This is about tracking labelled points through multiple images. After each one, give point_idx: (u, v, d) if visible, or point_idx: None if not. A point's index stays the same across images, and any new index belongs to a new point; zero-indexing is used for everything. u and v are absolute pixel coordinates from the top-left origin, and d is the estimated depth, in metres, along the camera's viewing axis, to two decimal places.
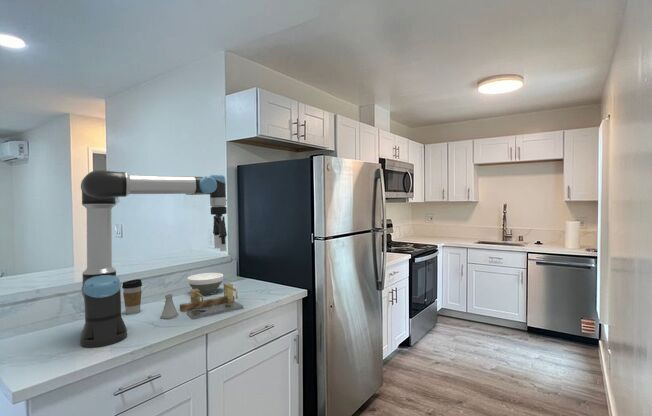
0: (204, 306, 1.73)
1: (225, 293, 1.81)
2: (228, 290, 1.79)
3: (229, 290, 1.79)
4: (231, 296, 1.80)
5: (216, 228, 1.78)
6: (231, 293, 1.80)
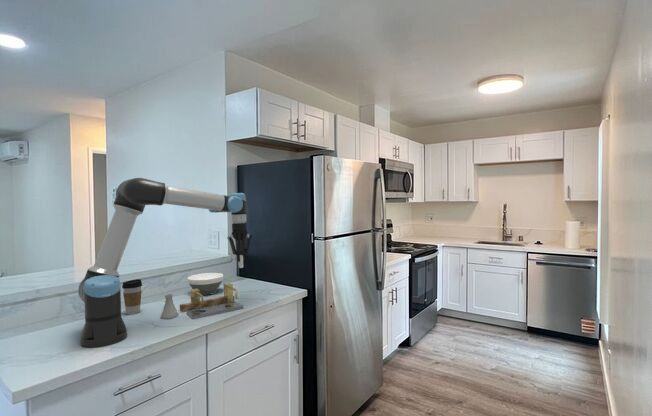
0: (204, 306, 1.73)
1: (225, 293, 1.81)
2: (228, 290, 1.79)
3: (229, 290, 1.79)
4: (231, 296, 1.80)
5: None
6: (231, 293, 1.80)
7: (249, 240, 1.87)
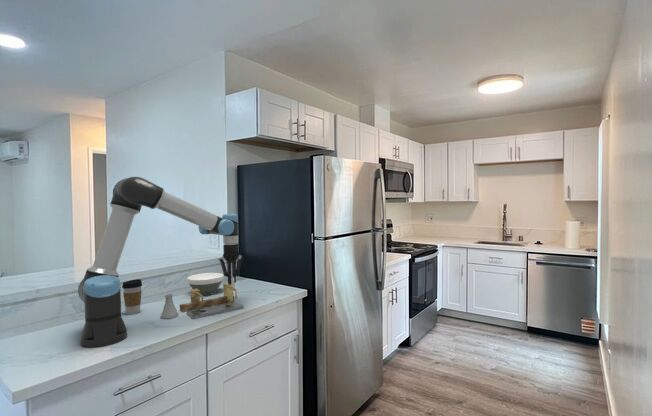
0: (204, 306, 1.73)
1: (225, 293, 1.81)
2: (228, 290, 1.79)
3: (229, 290, 1.79)
4: (231, 296, 1.80)
5: (232, 266, 1.83)
6: (231, 293, 1.80)
7: (241, 261, 1.84)
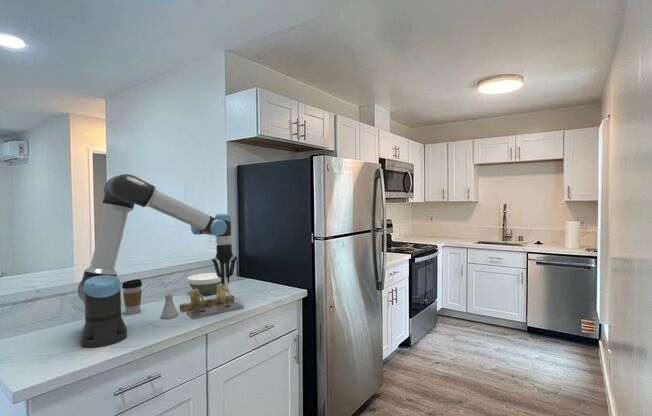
0: (204, 306, 1.73)
1: (218, 294, 1.78)
2: (221, 291, 1.77)
3: (222, 291, 1.77)
4: (224, 297, 1.78)
5: (225, 267, 1.81)
6: (224, 294, 1.78)
7: (234, 262, 1.82)
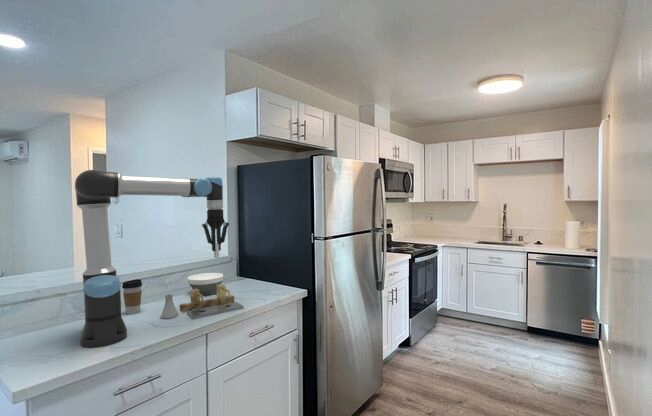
0: (204, 306, 1.73)
1: (218, 294, 1.78)
2: (221, 291, 1.77)
3: (222, 291, 1.77)
4: (224, 297, 1.78)
5: (216, 233, 1.73)
6: (224, 294, 1.78)
7: (226, 228, 1.74)
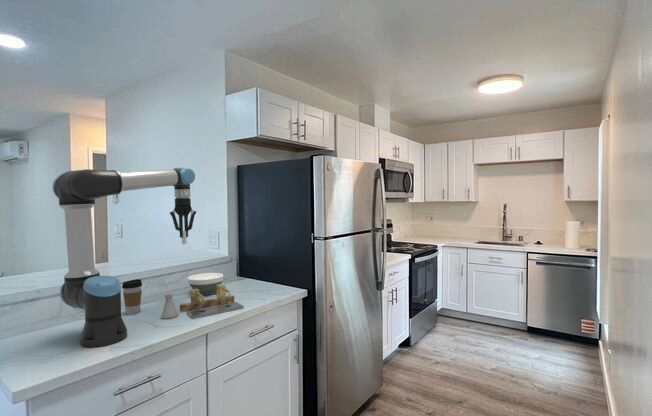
0: (204, 306, 1.73)
1: (218, 294, 1.78)
2: (221, 291, 1.77)
3: (222, 291, 1.77)
4: (224, 297, 1.78)
5: (184, 221, 1.83)
6: (224, 294, 1.78)
7: (193, 216, 1.84)
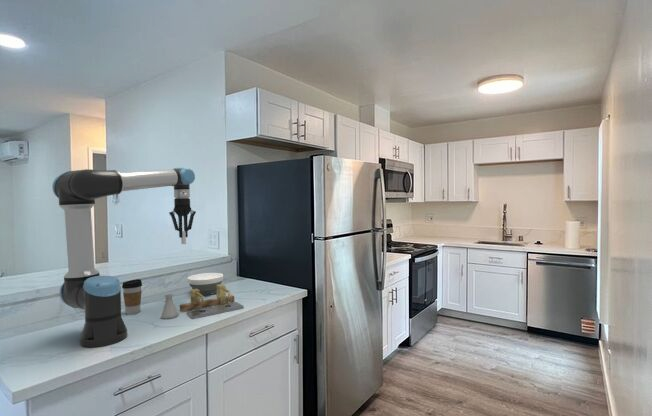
0: (204, 306, 1.73)
1: (218, 294, 1.78)
2: (221, 291, 1.77)
3: (222, 291, 1.77)
4: (224, 297, 1.78)
5: (184, 221, 1.83)
6: (224, 294, 1.78)
7: (193, 216, 1.84)
